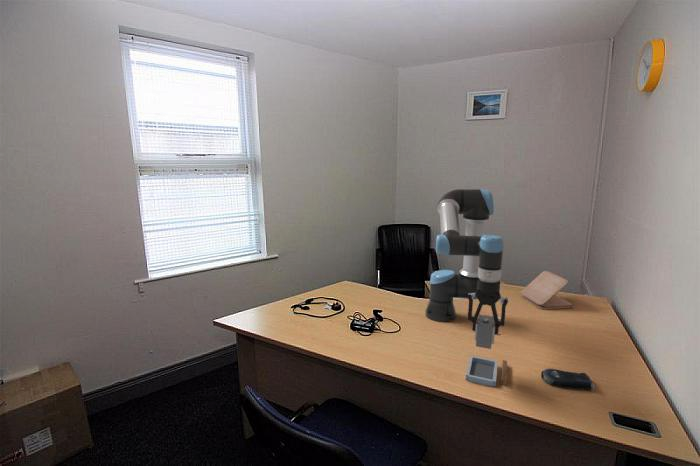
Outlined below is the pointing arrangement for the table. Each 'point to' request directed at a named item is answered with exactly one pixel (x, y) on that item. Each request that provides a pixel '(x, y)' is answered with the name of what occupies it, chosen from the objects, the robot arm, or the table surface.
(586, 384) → the electronic device
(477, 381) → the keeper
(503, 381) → the door edge strip
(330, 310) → the table surface
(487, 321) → the grey block with knob
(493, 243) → the robot arm
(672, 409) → the table surface
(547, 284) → the case
